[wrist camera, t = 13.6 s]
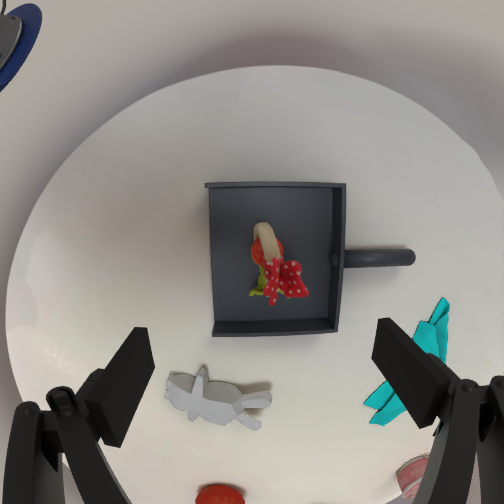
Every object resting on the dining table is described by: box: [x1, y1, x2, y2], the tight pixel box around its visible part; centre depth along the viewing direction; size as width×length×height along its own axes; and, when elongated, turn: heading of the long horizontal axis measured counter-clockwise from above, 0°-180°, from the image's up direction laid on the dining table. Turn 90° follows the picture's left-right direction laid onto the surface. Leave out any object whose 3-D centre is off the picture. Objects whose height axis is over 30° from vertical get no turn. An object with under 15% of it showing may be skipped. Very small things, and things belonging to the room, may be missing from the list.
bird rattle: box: [249, 222, 309, 306], centre depth 31 cm, size 6×11×9 cm
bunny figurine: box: [165, 368, 272, 430], centre depth 38 cm, size 10×5×15 cm
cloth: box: [364, 298, 450, 426], centre depth 40 cm, size 26×14×2 cm, turn 153°
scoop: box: [205, 182, 416, 337], centre depth 34 cm, size 27×18×4 cm
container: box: [397, 457, 428, 498], centre depth 44 cm, size 10×10×8 cm
